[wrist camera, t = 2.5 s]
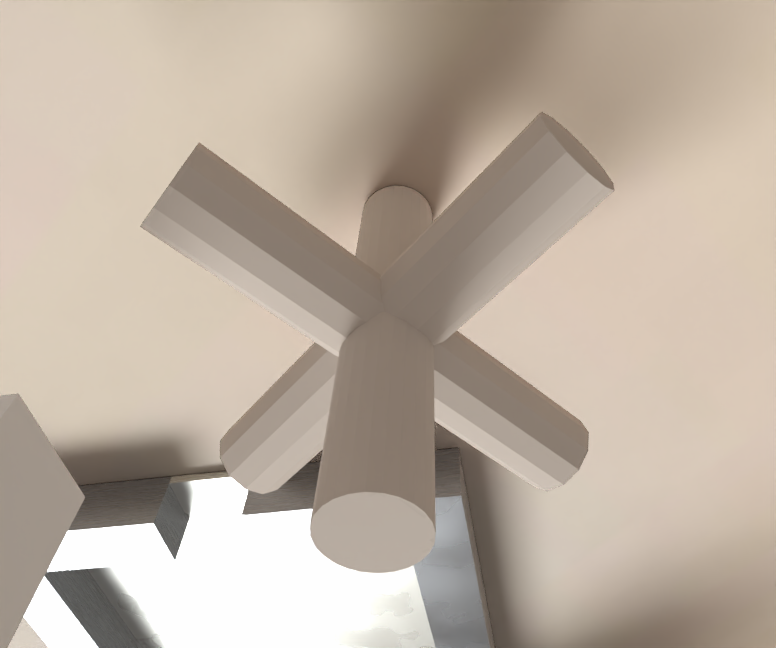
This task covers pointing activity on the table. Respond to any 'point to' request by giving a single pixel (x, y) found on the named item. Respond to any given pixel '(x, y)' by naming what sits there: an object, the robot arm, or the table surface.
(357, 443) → the pipe connector
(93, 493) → the square metal tray
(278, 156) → the table surface
